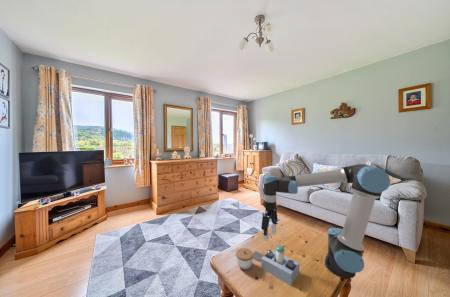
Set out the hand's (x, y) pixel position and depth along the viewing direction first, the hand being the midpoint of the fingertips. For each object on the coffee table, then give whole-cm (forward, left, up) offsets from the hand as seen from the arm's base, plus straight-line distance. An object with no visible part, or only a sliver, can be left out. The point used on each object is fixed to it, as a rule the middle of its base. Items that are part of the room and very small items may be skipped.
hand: (269, 237), depth 101 cm
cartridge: (-6, 0, -15) cm, 16 cm away
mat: (+10, -1, -17) cm, 20 cm away
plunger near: (-13, 0, -13) cm, 19 cm away
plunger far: (0, 0, -13) cm, 13 cm away
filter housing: (-6, 0, -17) cm, 19 cm away
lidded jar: (+11, +11, -18) cm, 24 cm away
